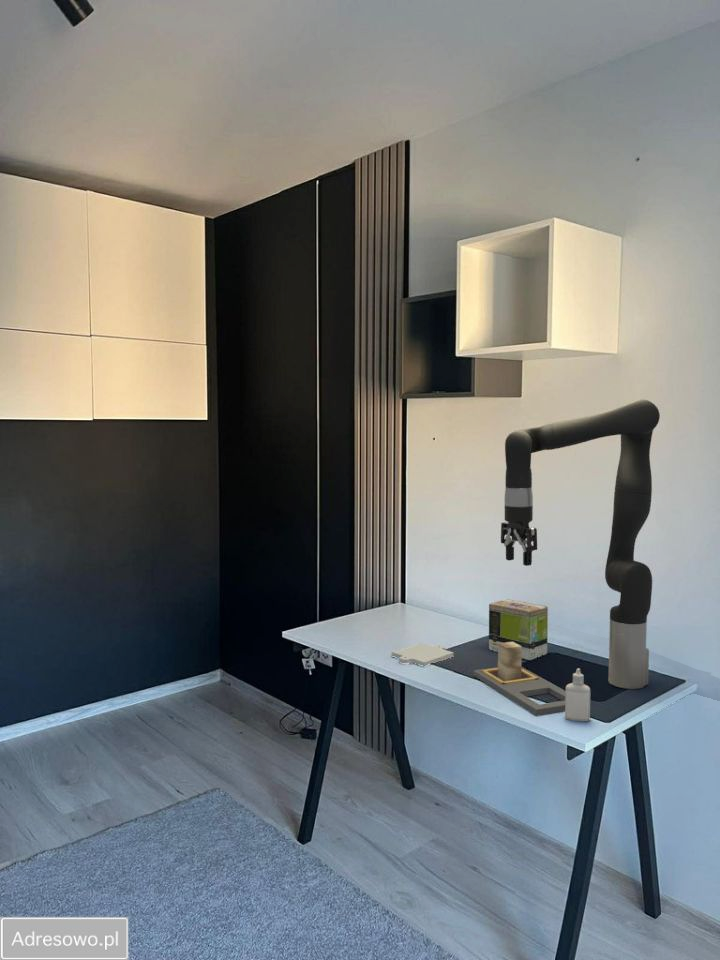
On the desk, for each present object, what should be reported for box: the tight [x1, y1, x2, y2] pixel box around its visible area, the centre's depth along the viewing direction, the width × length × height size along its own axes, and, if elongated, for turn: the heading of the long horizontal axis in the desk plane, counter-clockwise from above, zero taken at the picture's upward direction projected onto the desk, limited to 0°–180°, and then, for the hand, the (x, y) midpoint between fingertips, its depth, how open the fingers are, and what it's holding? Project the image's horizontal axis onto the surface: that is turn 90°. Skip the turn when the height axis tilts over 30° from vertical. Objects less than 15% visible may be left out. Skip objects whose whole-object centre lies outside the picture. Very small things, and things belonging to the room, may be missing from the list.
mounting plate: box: [391, 642, 455, 666], centre depth 222 cm, size 18×13×2 cm
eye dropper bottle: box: [564, 668, 591, 723], centre depth 175 cm, size 4×6×12 cm
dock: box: [473, 666, 566, 716], centre depth 193 cm, size 14×30×2 cm, turn 21°
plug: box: [497, 642, 523, 681], centre depth 200 cm, size 4×4×10 cm
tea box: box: [488, 598, 549, 661], centre depth 226 cm, size 15×10×15 cm
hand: (518, 562), depth 205 cm, fingers open, 8 cm apart
